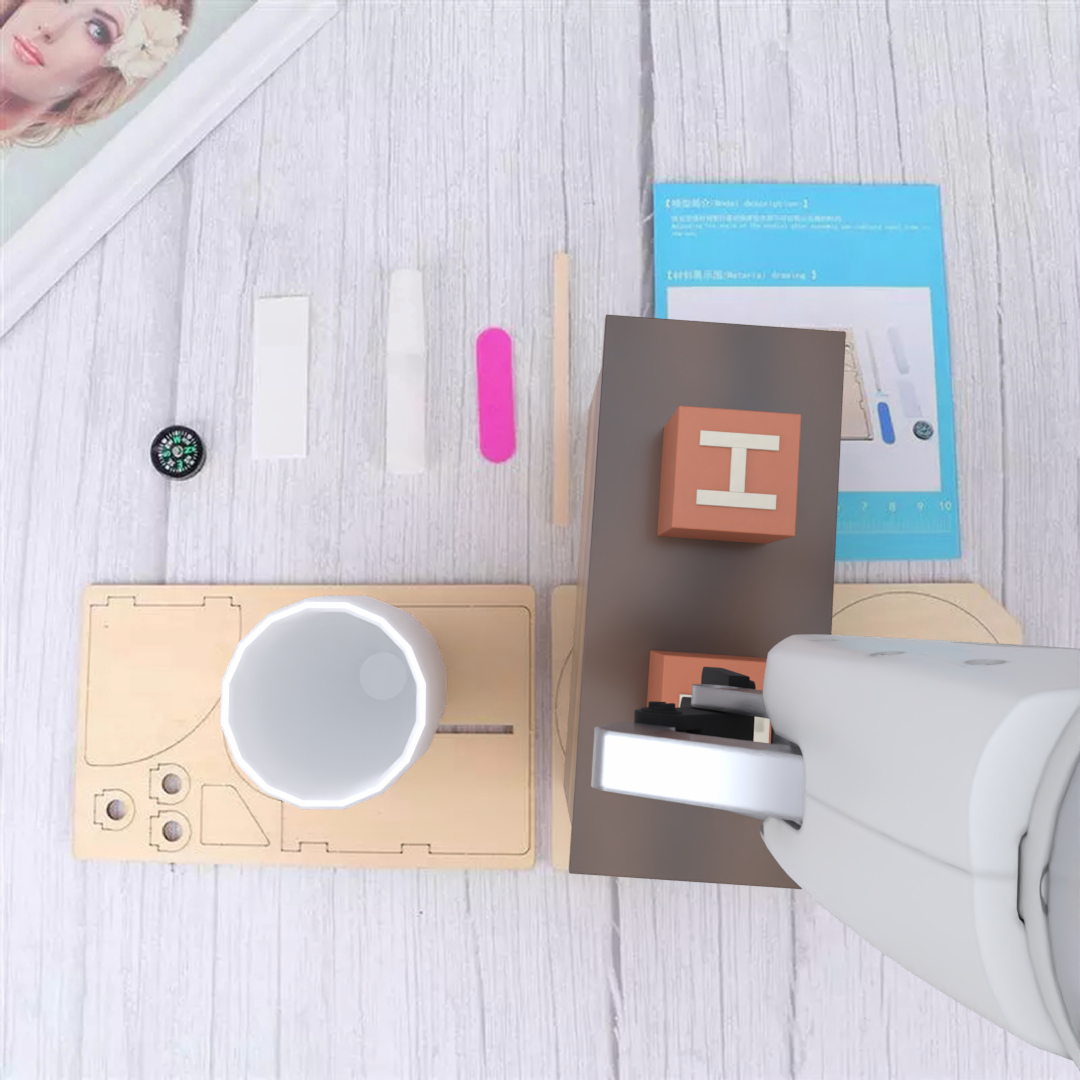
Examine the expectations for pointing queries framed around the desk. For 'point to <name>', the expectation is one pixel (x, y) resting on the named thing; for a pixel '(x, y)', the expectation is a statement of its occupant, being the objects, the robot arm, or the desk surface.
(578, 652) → the stand
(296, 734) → the cup
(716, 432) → the tile
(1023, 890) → the robot arm
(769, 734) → the tile
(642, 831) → the word board
